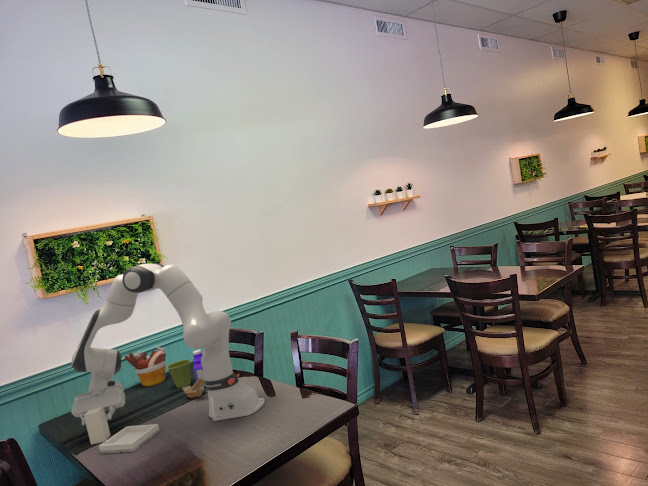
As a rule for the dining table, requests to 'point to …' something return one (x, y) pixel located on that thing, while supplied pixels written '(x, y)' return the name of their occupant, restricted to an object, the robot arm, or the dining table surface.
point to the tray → (129, 439)
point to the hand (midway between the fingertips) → (96, 421)
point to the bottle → (198, 365)
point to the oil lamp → (195, 389)
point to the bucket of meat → (149, 366)
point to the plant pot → (180, 373)
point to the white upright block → (97, 425)
